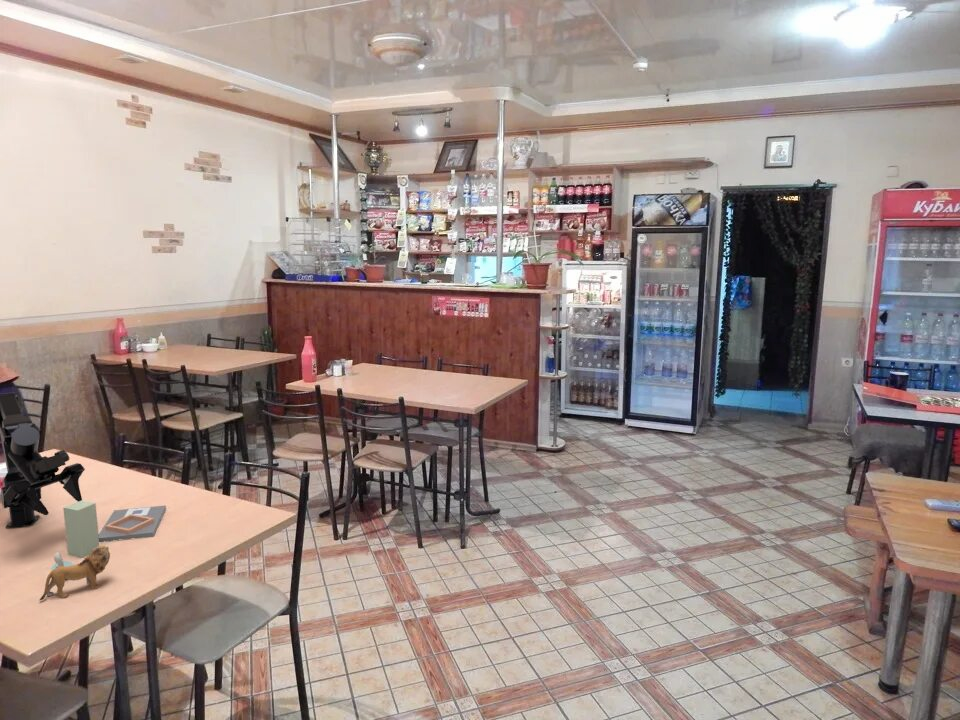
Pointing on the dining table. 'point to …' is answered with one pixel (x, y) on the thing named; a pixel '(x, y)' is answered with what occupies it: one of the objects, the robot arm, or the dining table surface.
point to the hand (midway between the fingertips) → (64, 507)
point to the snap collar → (114, 524)
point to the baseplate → (133, 523)
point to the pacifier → (60, 561)
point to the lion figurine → (78, 571)
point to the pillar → (81, 528)
